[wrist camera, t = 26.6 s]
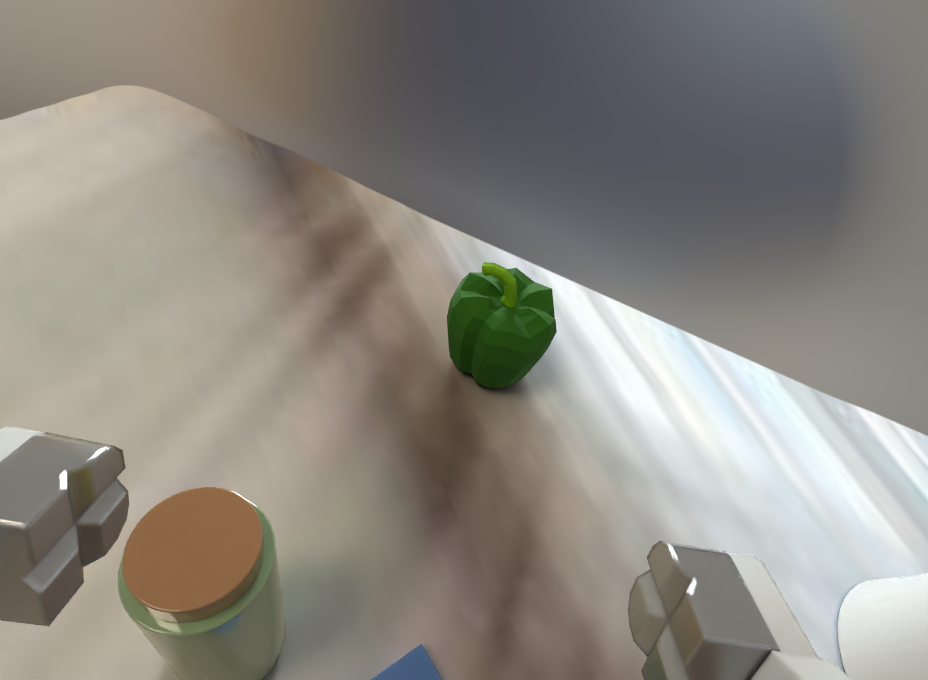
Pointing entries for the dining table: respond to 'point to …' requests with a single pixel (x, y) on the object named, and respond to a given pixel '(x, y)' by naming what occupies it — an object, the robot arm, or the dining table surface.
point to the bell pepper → (499, 325)
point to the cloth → (411, 667)
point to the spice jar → (206, 585)
